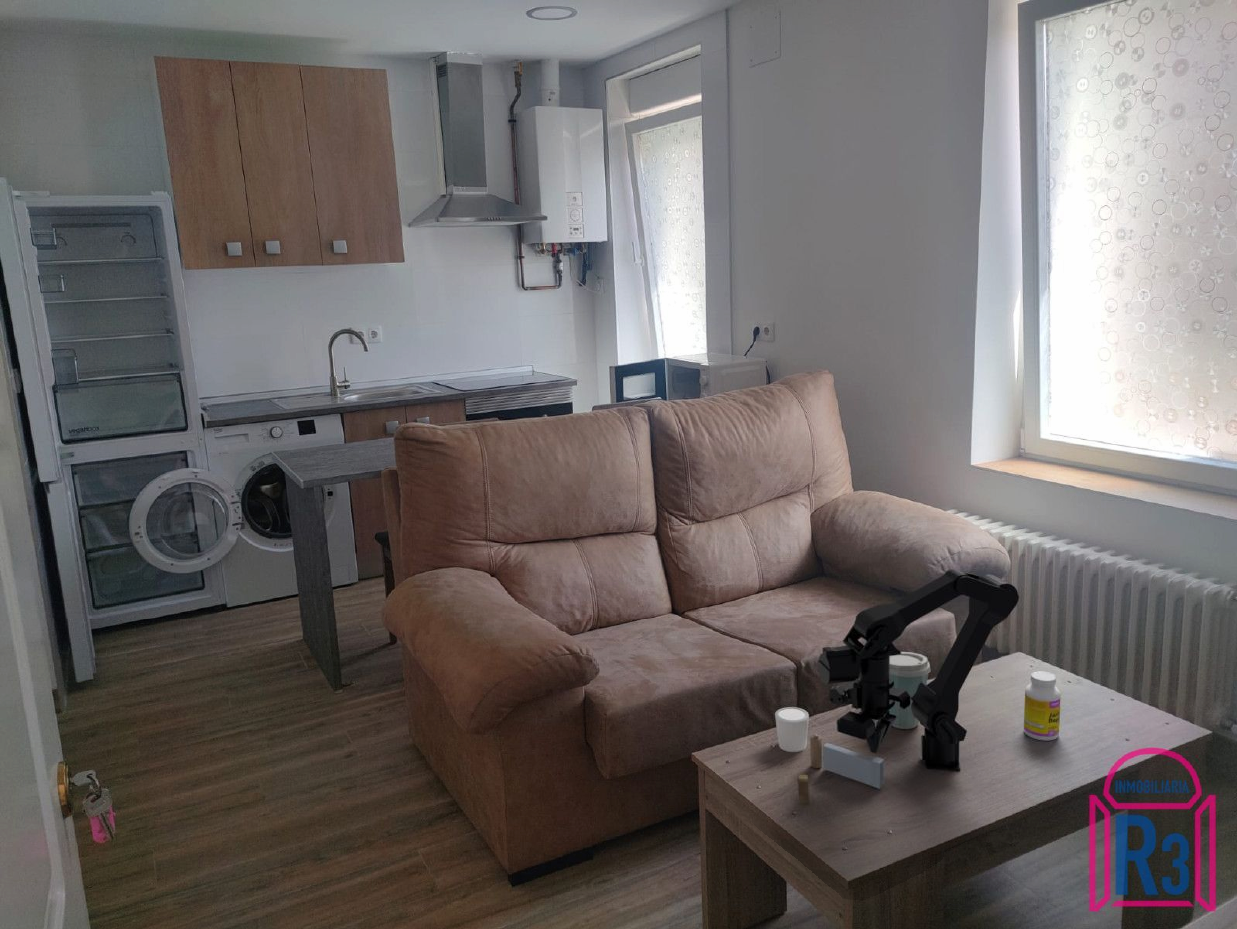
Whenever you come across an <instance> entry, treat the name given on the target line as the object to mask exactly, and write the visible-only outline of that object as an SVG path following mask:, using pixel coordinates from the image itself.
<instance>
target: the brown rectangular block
mask: <svg viewBox="0 0 1237 929" xmlns="http://www.w3.org/2000/svg"><path fill="white" fill-rule="evenodd" d="M809 781H810V780H809V777H808V774H799V777H798V784H797V785H798V805H810V789H809V788H810V784H809V783H810V782H809Z"/></svg>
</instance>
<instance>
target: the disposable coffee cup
mask: <svg viewBox="0 0 1237 929" xmlns="http://www.w3.org/2000/svg"><path fill="white" fill-rule="evenodd" d="M930 672H931V666H930V662H929V661H928V657H927V656H925V655H923V654H921V653H916V652H911V651H910V652H909V651H908V652H907V651H901V654H899V655H892V656H890V680H892V681H894V686H893V687H895V688H899V689H902V690H906V691H907V692H908V694H909V695H910V705H909V706H908V707H907V708H905V709H901V707H900V702H897V701H895V705H894V706H893V707H892V708H891V709H889V711H890V714H892V715H895V716H896V719H895V721H894V722H893V724H892V726H891V727H894V728H896V729H903V730H910V729H914V728H916V727H917V726H918V725H919V724H920V721H919V720H918V719H917V718H915V716H914V715H913V713H912V709H911V704H912V702H913V701H912V700H911V697H913V696H914V694H915V693H916V691H917V688H918V685H919V684H920V683H921V682H923V683H924V684H926V685H927V684H928V678H929V677H928V676H929V673H930Z"/></svg>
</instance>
